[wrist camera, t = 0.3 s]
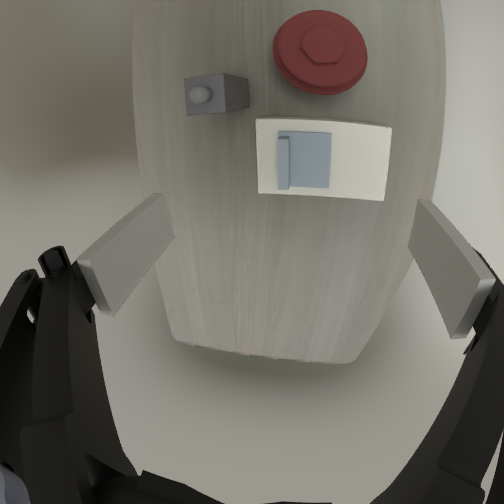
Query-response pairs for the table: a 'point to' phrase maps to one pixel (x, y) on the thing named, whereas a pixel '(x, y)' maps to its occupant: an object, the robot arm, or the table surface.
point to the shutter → (303, 159)
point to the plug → (215, 94)
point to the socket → (342, 156)
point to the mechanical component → (320, 52)
